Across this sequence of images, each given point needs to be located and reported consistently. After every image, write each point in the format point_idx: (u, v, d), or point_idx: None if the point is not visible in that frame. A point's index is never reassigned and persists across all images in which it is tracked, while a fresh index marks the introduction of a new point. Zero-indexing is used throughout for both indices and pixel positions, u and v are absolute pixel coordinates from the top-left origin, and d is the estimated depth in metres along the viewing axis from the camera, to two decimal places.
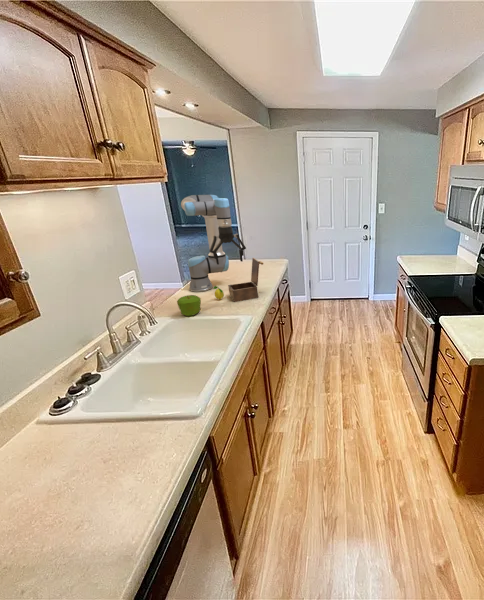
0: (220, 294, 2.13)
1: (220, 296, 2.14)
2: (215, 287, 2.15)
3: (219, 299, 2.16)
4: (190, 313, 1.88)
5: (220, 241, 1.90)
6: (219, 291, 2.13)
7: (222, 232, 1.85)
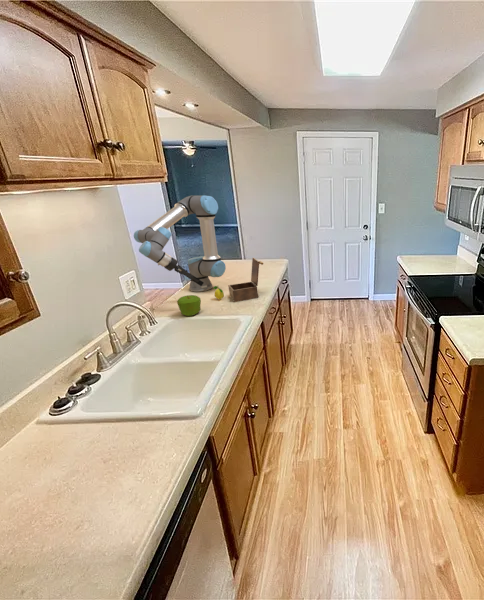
0: (220, 294, 2.13)
1: (220, 296, 2.14)
2: (215, 287, 2.15)
3: (219, 299, 2.16)
4: (190, 313, 1.88)
5: None
6: (219, 291, 2.13)
7: None
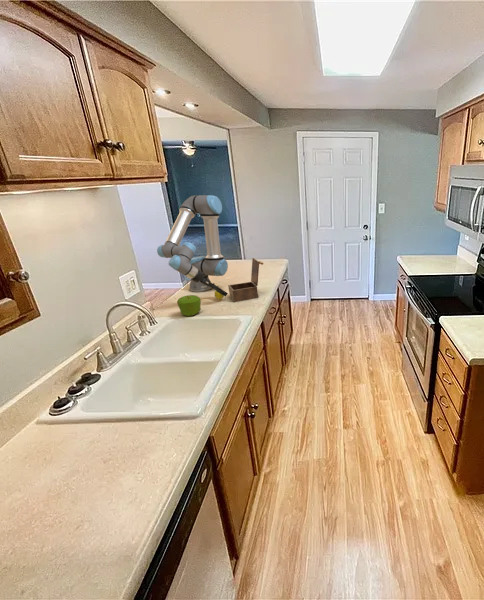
0: (220, 294, 2.13)
1: (220, 296, 2.14)
2: None
3: (219, 299, 2.16)
4: (190, 313, 1.88)
5: None
6: None
7: None
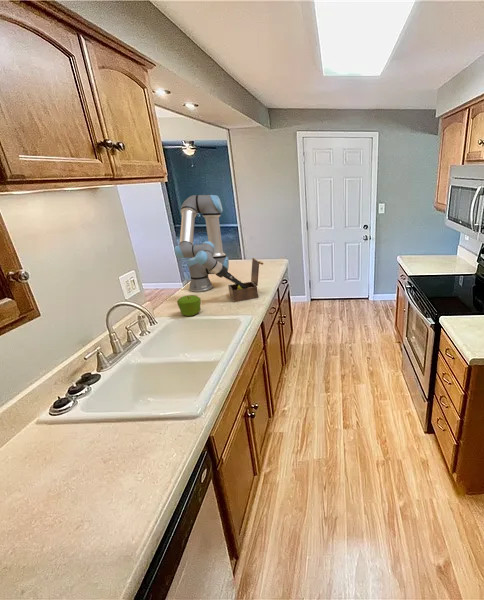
0: None
1: None
2: None
3: None
4: (190, 313, 1.88)
5: None
6: None
7: None
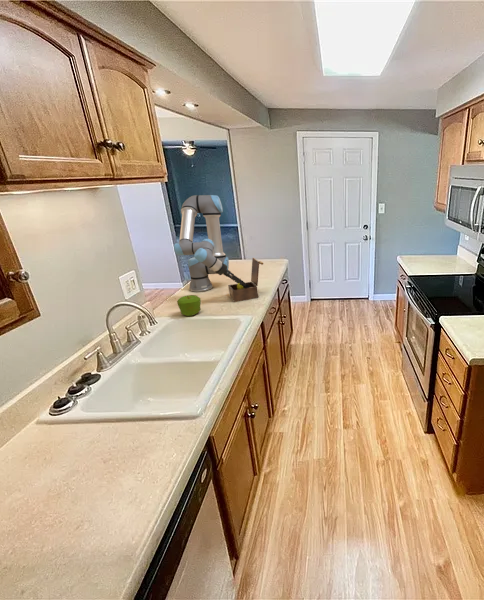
0: (242, 287, 2.16)
1: None
2: None
3: None
4: (190, 313, 1.88)
5: None
6: None
7: None
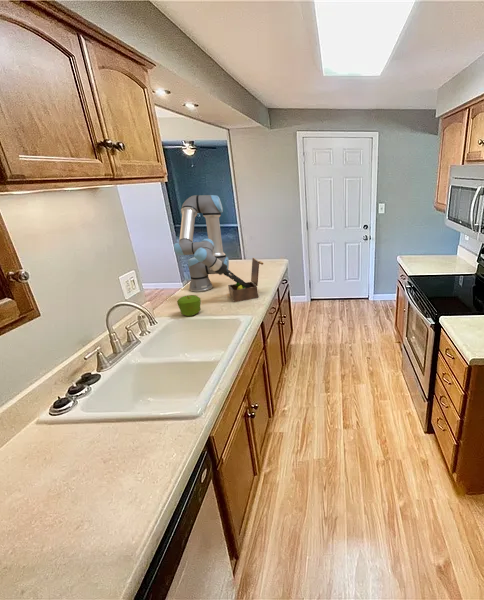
0: None
1: None
2: (237, 284, 2.19)
3: None
4: (190, 313, 1.88)
5: None
6: (242, 287, 2.17)
7: None
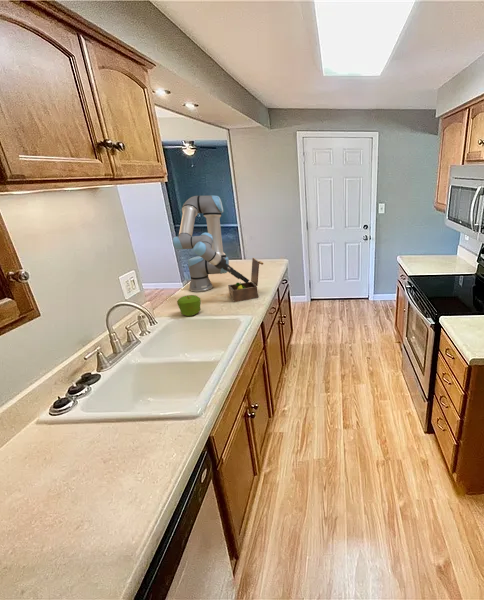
0: None
1: None
2: (237, 284, 2.19)
3: None
4: (190, 313, 1.88)
5: None
6: (242, 287, 2.17)
7: None
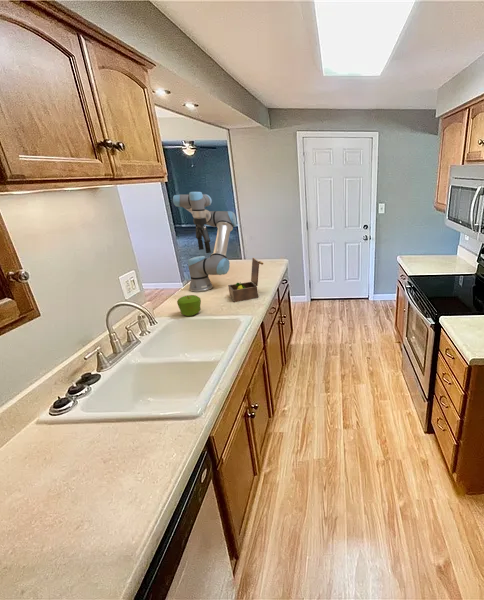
0: None
1: None
2: (237, 284, 2.19)
3: None
4: (190, 313, 1.88)
5: None
6: (242, 287, 2.17)
7: None
